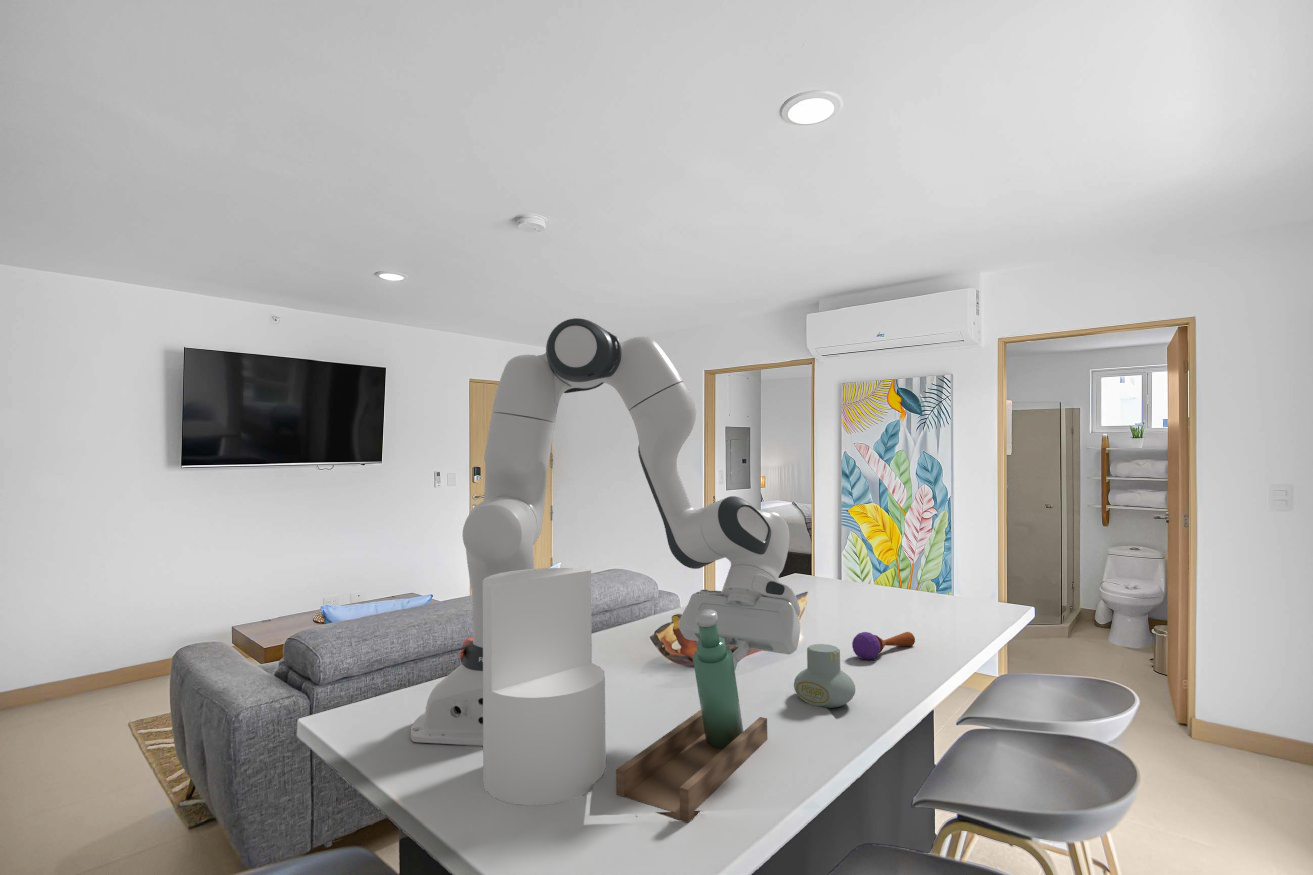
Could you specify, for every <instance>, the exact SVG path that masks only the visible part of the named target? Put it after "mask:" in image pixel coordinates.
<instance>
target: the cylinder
mask: <svg viewBox="0 0 1313 875" xmlns="http://www.w3.org/2000/svg"><path fill="white" fill-rule="evenodd" d="M592 632H593V630H592V570H591V569H583V568H574V567H572V568H569V567H565V568H564V567H563V568H562V567H551V568H550V567H549V568H548V567H546V568H545V567H544V568H543V567H542V568H534V569H527V570H518V571H510V572H504V573H499V574H495V575H491V576H489V577H487V578H485V579H484V580H483V746H482V747H483V749H482V753H483V754H482V755H483V756H482V759H483V760H482V764H483V767H482V769H483V771H482V775H483V776H482V777H483V778H482V780H483V781H482V782H483V786H484V790H485V791H486V792H487V793H488V794H489V795H490V796H491V797H493V798H495V799H497V800H499V801H501V802H504V803H509V804H513V805H522V806H545V805H547V806H548V805H553V804H554V805H556V804H559V803H564V802H569V801H572V800H573V799H574V800H575V799H576V798H580V797H583V796H584V795H586V794H587V793H589V792H591V791H592V790H593V786H594V785H593V784H595V783H596V782H597V781H598V780H600V778H602V776H603V775H604V772H605V771H606V768H607V761H606V760H607V759H606V756H607V754H606V750H607V749H606V748H607V747H606V674H605V670H604V669H603V668H602V667H601V666H599V665H597V664H594V663H593V660H592V658H593V657H592V656H593V653H592V652H593V644H592V643H593V642H592V641H593V640H592V639H593V638H592V635H593V634H592Z"/></svg>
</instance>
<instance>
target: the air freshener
mask: <svg viewBox="0 0 1313 875" xmlns="http://www.w3.org/2000/svg"><path fill="white" fill-rule="evenodd" d="M806 648H807V649H806V660H807V662H806V664H807V666H806V667H807V668H805V669H803V670H801V671H800V672H798V674H797V675H796V676H795V678H794V682H793V688H794V691H795V693H796V695H797V697H799V698H800V699H801V700H802V701H803V702H804V703H807V704H810V705H812V706H816V707H817V706H818V707H821V708H822V707H825V708H826V709H835V708H839V707H842V706H845V705H846V704H848V703H849V702H850V701H851V700H852V699H853V698H854V696H855V694H856V684H855V682H854V681H853V679H852V678H851V676H850V675H848V674H847V673H846V672H844V671H843V670H841V650H840V649H839V648H838V646H835V645H832V644H827V643H826V644H823V643H819V644H818V643H817V644H816V643H815V644H811V645H808V647H806Z"/></svg>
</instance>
